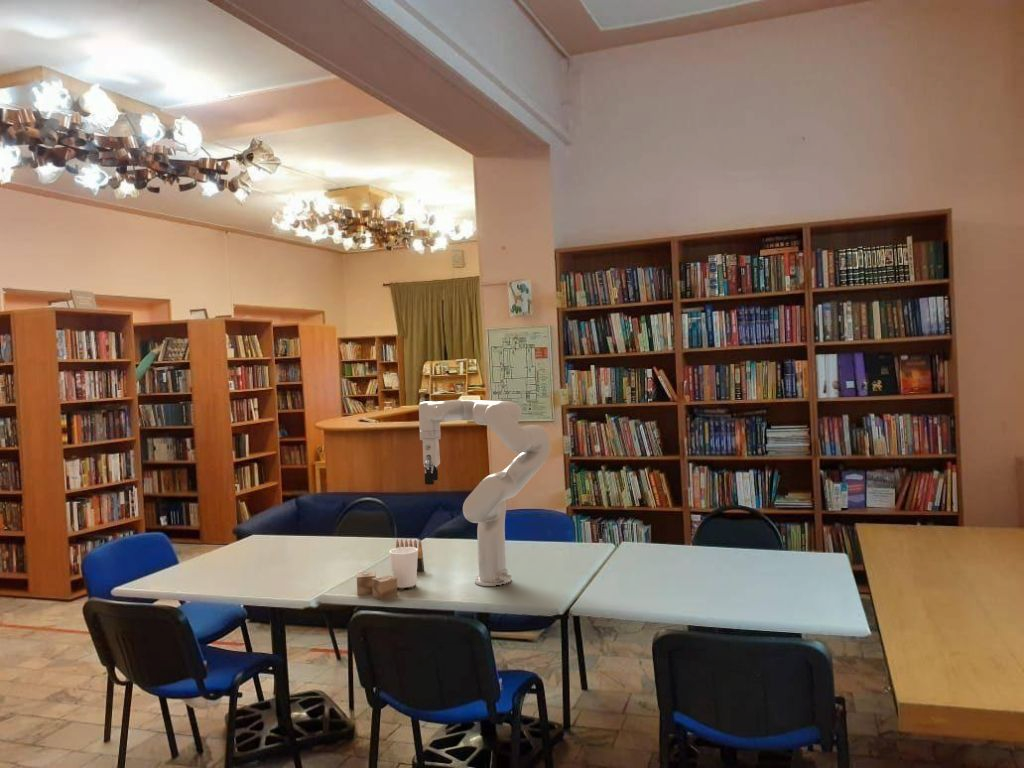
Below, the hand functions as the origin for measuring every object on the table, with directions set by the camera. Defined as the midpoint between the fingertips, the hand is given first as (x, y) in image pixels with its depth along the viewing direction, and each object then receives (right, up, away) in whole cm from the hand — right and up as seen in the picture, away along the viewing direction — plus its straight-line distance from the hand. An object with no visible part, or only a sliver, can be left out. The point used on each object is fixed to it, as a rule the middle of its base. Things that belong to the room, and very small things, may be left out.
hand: (431, 482), depth 270 cm
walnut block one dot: (-20, -35, -18) cm, 44 cm away
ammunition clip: (-9, -34, +6) cm, 36 cm away
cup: (-7, -34, -14) cm, 38 cm away
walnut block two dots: (-13, -35, -24) cm, 44 cm away
